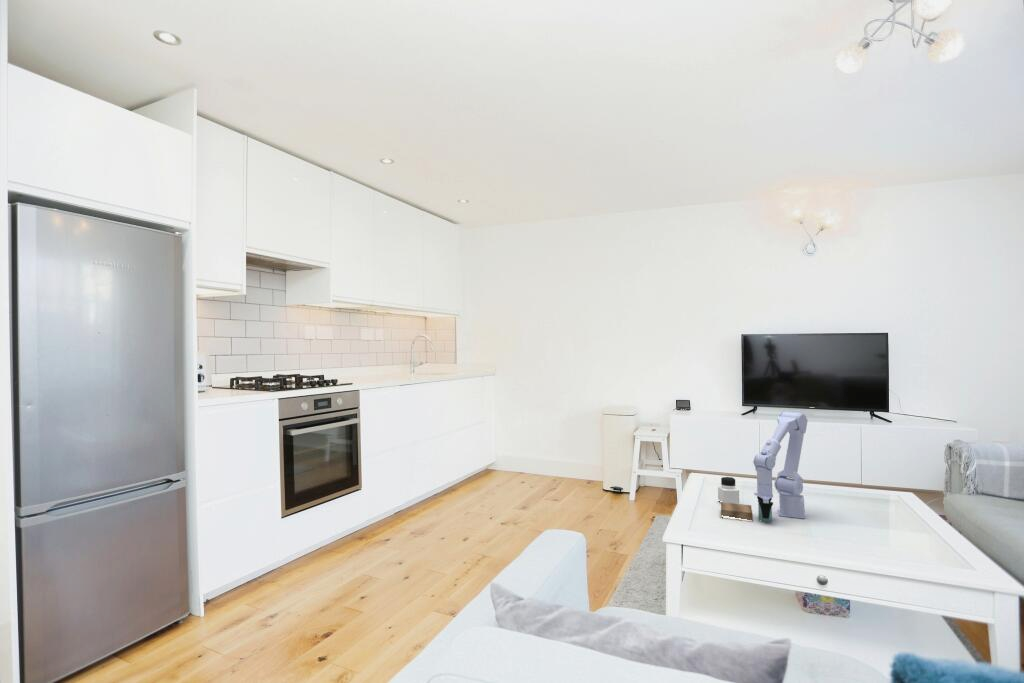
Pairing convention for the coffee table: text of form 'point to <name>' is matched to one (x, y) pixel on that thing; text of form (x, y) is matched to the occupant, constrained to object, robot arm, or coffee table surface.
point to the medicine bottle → (728, 491)
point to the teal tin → (762, 517)
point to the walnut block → (736, 510)
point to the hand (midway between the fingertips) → (765, 516)
